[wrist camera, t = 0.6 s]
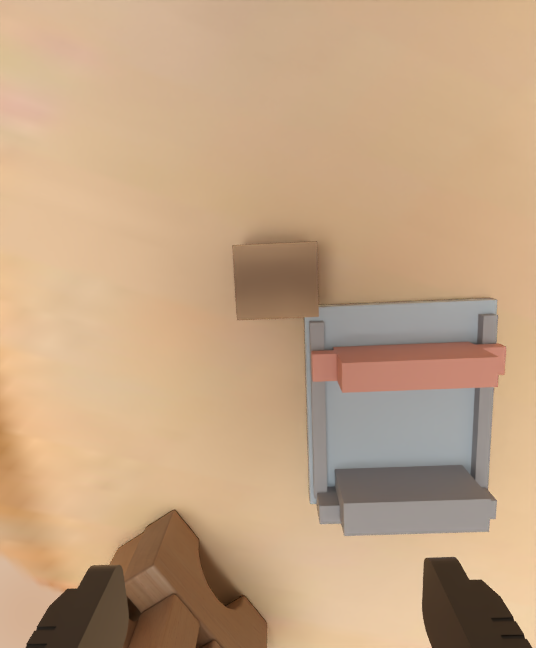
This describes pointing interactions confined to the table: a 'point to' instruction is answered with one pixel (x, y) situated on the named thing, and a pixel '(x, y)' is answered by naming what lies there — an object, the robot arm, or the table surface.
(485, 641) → the robot arm
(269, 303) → the walnut block
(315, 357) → the bar
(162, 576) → the wooden toy
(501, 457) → the table surface
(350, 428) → the vise base
